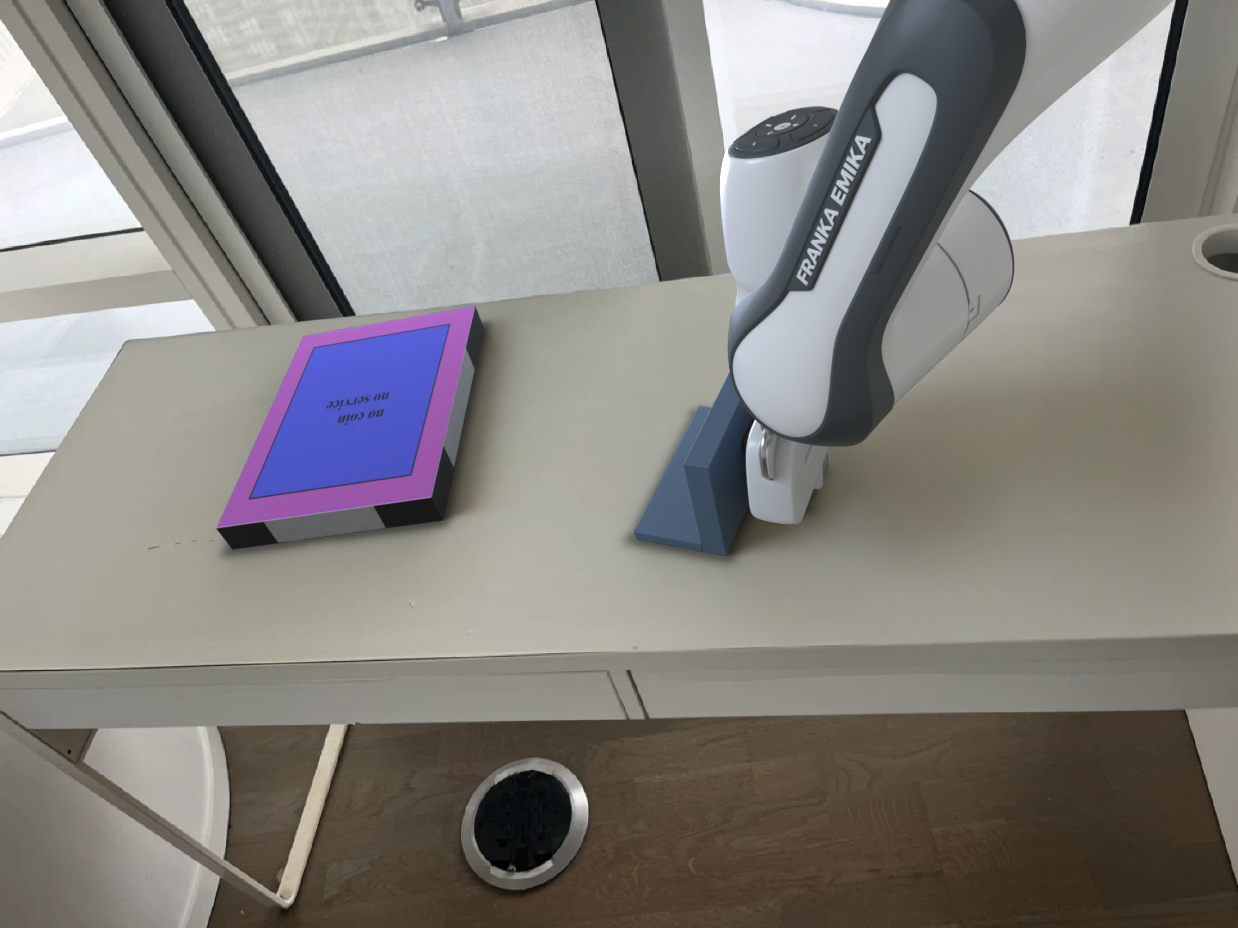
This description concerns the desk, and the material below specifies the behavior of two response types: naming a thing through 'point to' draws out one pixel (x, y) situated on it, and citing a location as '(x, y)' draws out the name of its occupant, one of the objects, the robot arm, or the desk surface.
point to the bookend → (703, 481)
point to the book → (359, 432)
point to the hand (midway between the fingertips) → (815, 476)
